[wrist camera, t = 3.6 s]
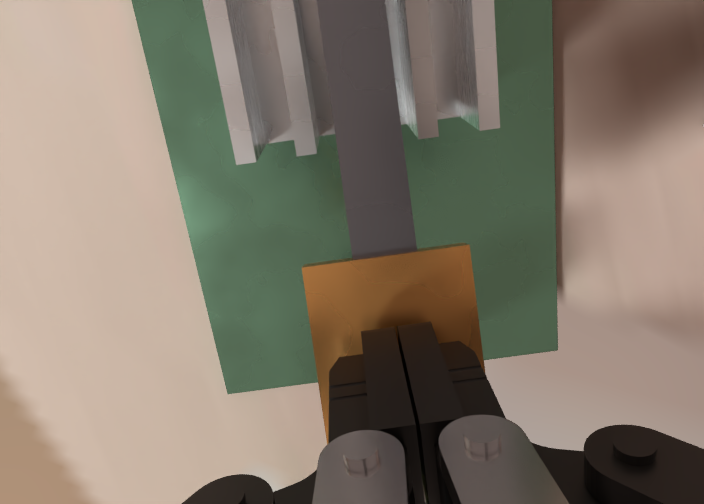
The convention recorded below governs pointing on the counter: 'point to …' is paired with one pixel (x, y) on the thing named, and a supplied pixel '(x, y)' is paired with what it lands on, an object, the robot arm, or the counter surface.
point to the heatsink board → (324, 170)
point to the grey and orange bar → (377, 210)
